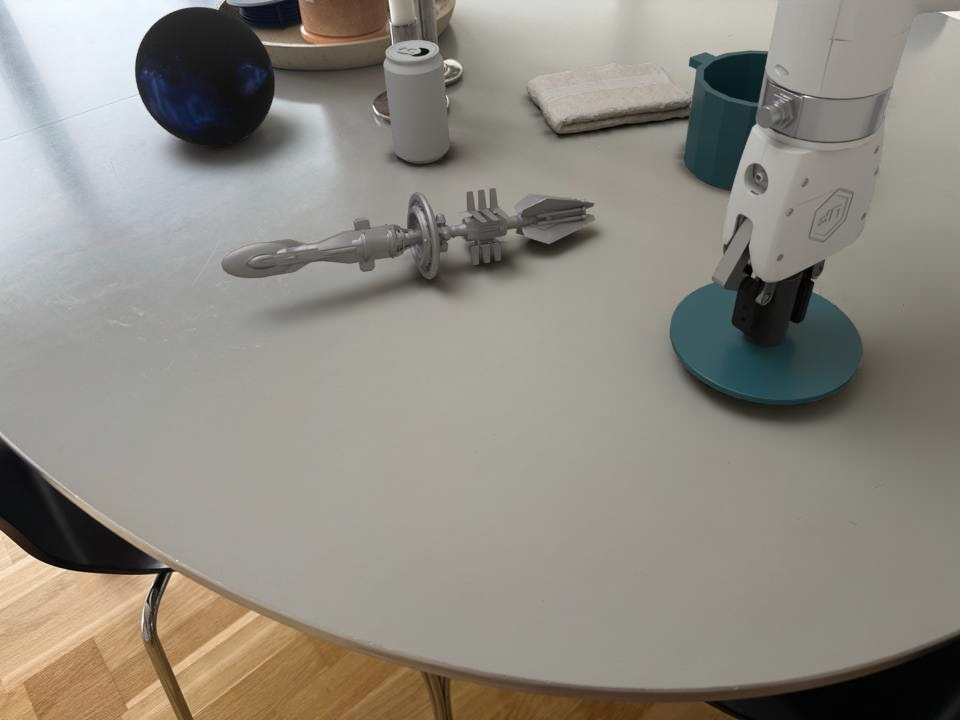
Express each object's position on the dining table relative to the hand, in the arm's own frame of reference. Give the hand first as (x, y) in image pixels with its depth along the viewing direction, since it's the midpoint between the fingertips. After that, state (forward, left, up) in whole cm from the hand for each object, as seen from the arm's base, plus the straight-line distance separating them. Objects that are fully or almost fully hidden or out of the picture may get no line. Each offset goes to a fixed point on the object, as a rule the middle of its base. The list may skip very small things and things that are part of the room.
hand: (767, 321), depth 64 cm
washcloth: (-19, -42, -4) cm, 46 cm away
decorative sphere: (+23, -64, -4) cm, 68 cm away
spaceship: (+16, -26, -4) cm, 31 cm away
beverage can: (+5, -46, -4) cm, 46 cm away
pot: (-23, -23, -4) cm, 32 cm away
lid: (0, 0, -2) cm, 2 cm away
